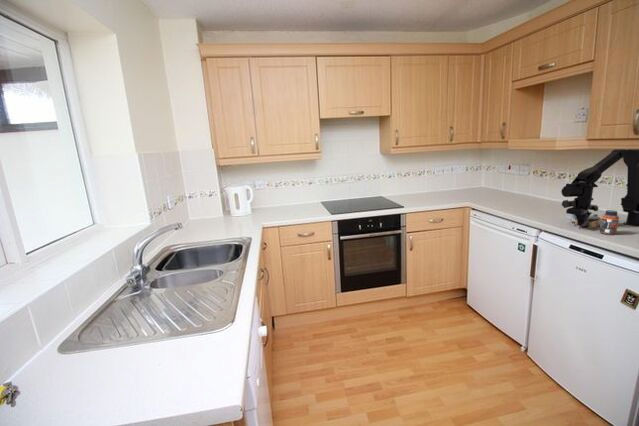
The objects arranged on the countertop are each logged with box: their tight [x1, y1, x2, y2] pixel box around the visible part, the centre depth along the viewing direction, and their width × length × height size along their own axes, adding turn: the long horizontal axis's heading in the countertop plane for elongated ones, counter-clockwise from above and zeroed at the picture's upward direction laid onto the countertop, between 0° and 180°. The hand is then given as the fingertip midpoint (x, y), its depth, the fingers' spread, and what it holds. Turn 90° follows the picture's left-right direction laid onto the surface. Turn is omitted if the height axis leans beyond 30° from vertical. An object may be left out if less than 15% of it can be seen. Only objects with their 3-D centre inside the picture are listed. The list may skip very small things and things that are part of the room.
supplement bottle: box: [599, 209, 620, 236], centre depth 144 cm, size 6×6×11 cm
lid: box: [565, 213, 601, 221], centre depth 162 cm, size 14×6×4 cm, turn 87°
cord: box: [579, 220, 590, 228], centre depth 158 cm, size 7×3×3 cm, turn 116°
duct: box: [574, 218, 602, 229], centre depth 160 cm, size 13×7×3 cm, turn 117°
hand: (580, 225), depth 156 cm, fingers closed
